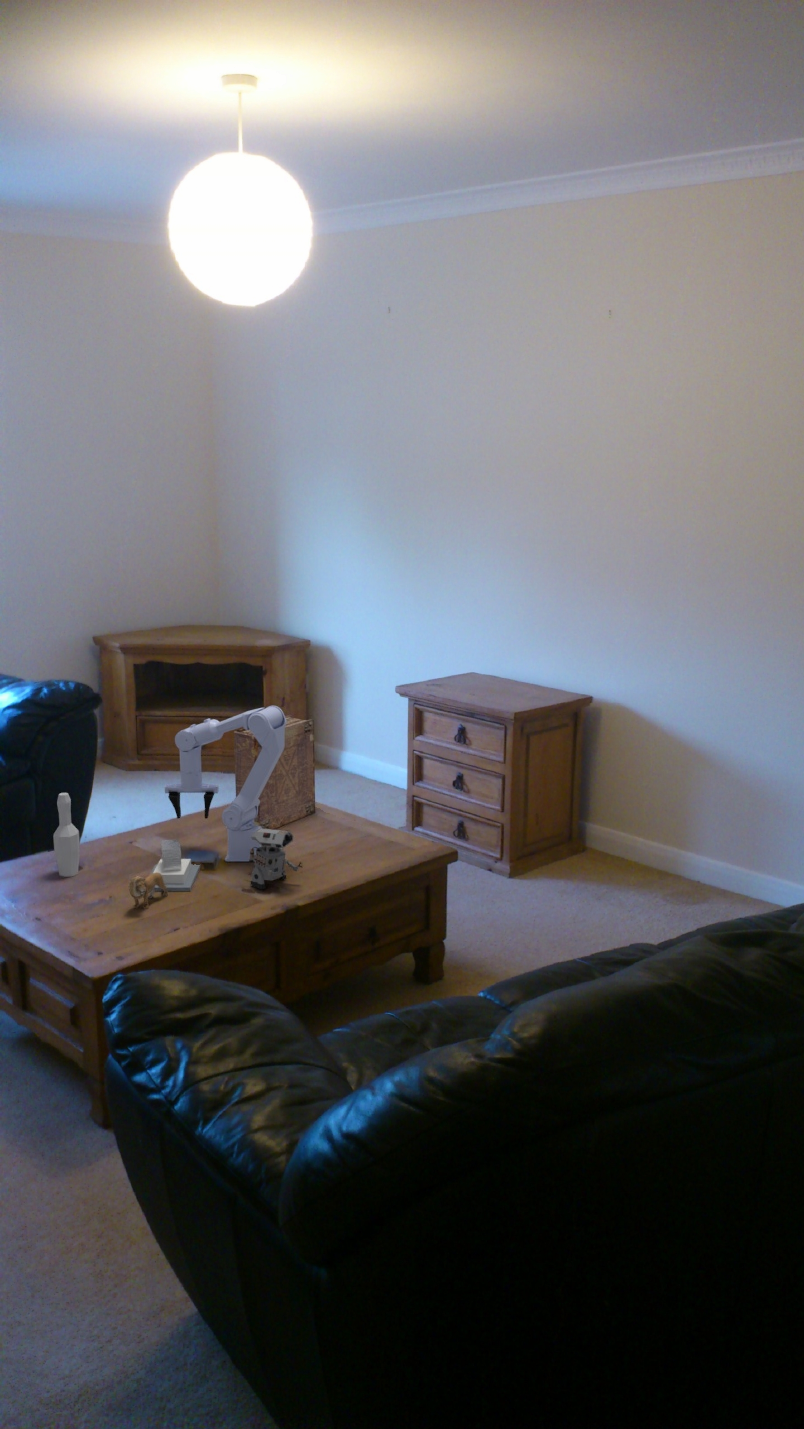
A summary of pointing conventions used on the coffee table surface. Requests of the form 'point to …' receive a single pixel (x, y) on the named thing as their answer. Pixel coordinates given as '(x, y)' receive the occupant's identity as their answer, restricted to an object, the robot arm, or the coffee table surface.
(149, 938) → the coffee table surface
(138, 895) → the lion figurine
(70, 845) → the faceted bottle
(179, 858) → the block
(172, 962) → the coffee table surface
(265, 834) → the figurine
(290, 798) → the book
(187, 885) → the display stand
